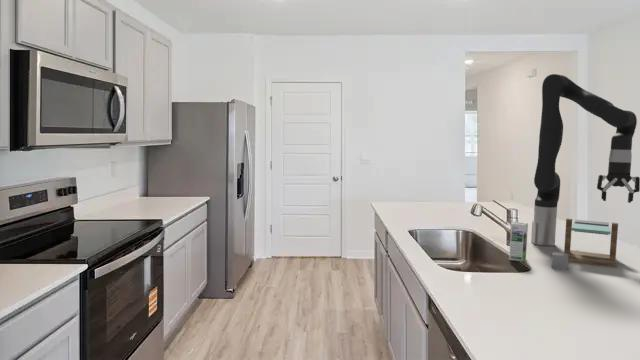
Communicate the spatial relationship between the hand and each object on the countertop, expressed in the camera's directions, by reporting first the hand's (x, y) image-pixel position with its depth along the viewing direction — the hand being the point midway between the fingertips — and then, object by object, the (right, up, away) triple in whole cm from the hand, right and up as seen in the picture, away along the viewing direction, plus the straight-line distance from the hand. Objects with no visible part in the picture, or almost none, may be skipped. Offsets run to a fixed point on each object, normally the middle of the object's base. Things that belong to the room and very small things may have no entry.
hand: (616, 201), depth 189 cm
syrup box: (-42, -23, -4) cm, 48 cm away
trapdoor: (-11, -13, -1) cm, 17 cm away
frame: (-12, -23, -1) cm, 26 cm away
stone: (-30, -24, -15) cm, 41 cm away
